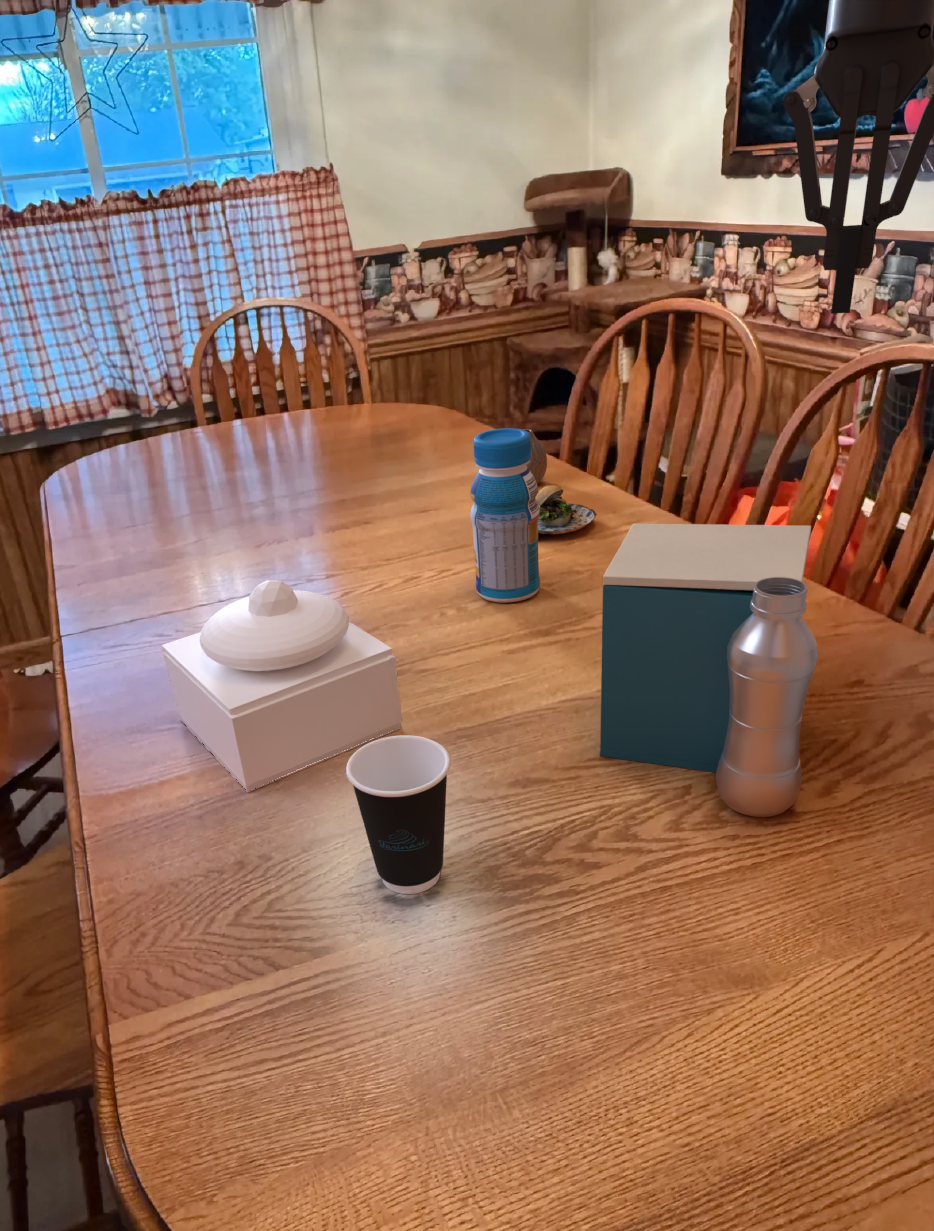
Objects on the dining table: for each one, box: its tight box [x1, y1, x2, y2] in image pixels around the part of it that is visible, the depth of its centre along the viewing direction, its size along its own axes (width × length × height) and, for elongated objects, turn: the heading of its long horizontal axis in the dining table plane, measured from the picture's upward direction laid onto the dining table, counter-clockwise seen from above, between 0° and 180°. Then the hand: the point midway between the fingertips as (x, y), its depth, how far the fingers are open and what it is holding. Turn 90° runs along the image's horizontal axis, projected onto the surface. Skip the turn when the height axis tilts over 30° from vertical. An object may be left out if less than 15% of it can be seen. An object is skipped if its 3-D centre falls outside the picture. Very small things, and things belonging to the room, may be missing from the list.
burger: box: [535, 476, 597, 535], centre depth 139 cm, size 12×12×8 cm
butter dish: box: [161, 579, 403, 794], centre depth 97 cm, size 18×18×16 cm
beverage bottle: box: [469, 427, 541, 604], centre depth 118 cm, size 8×8×20 cm
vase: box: [521, 428, 548, 485], centre depth 157 cm, size 7×7×9 cm
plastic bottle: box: [715, 577, 819, 818], centre depth 76 cm, size 6×7×20 cm
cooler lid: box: [602, 522, 812, 590], centre depth 82 cm, size 15×13×1 cm
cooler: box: [599, 584, 753, 773], centre depth 87 cm, size 15×13×17 cm
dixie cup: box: [345, 734, 452, 895], centre depth 75 cm, size 8×8×11 cm
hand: (840, 309), depth 84 cm, fingers closed
